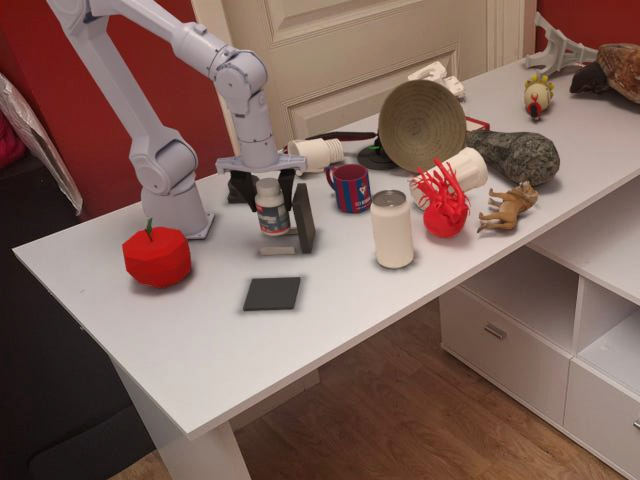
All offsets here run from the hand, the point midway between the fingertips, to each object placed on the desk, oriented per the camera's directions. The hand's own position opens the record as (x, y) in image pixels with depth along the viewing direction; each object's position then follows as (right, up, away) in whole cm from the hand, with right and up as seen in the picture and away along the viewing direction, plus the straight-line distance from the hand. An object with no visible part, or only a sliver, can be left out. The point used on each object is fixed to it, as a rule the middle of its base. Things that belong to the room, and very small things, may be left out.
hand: (272, 209), depth 121 cm
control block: (-10, +6, +17) cm, 21 cm away
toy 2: (+48, +30, +37) cm, 68 cm away
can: (+21, -9, +1) cm, 23 cm away
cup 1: (+10, +5, +16) cm, 19 cm away
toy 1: (+4, +18, +27) cm, 32 cm away
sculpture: (+64, +42, +54) cm, 94 cm away
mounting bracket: (+30, +44, +50) cm, 73 cm away
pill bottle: (0, -3, +3) cm, 4 cm away
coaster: (+2, -15, -6) cm, 17 cm away
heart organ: (+28, -3, +7) cm, 29 cm away
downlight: (-2, +15, +21) cm, 25 cm away
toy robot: (+16, +17, +29) cm, 37 cm away
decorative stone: (+45, +18, +22) cm, 53 cm away
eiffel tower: (+50, +53, +57) cm, 93 cm away
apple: (-18, -12, -2) cm, 21 cm away
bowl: (+22, +22, +28) cm, 42 cm away
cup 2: (+24, +5, +11) cm, 27 cm away
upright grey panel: (+1, -5, +5) cm, 7 cm away
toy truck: (+32, +25, +33) cm, 52 cm away
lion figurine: (+37, +3, +9) cm, 38 cm away
